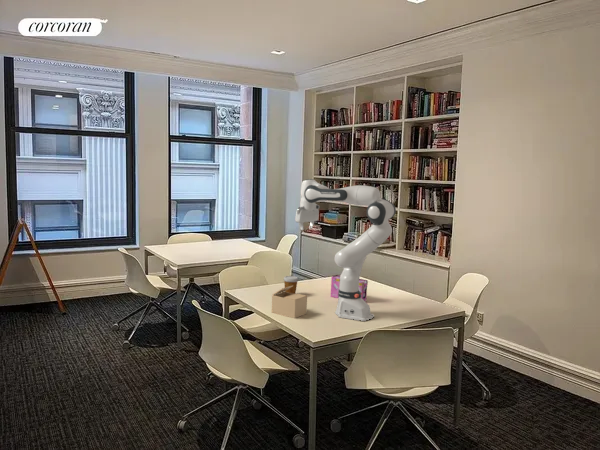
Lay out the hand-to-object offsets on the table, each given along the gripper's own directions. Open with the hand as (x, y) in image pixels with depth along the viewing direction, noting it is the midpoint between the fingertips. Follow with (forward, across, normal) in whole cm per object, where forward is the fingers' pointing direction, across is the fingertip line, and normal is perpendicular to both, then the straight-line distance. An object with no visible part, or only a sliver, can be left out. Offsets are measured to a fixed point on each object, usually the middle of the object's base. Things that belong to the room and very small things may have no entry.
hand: (306, 229), depth 298 cm
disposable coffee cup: (+46, +11, +18) cm, 51 cm away
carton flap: (+34, -21, +1) cm, 40 cm away
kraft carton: (+46, -21, -4) cm, 51 cm away
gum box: (+47, +31, -14) cm, 58 cm away
